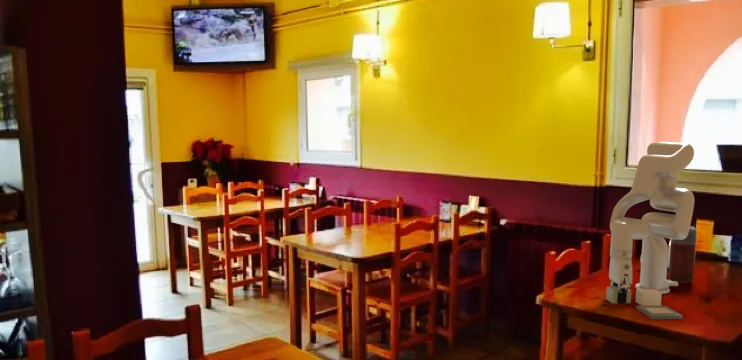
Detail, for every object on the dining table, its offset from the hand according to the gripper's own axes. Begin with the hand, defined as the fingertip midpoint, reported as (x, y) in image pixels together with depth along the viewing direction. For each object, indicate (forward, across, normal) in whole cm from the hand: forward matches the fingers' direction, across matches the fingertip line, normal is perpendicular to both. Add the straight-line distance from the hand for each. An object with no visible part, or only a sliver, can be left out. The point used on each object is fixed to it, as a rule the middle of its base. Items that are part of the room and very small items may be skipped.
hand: (618, 299), depth 221 cm
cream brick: (+1, -3, -10) cm, 10 cm away
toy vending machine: (+1, +30, -41) cm, 51 cm away
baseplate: (0, -14, -8) cm, 17 cm away
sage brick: (+1, 0, 0) cm, 1 cm away
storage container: (+1, +59, -58) cm, 83 cm away
